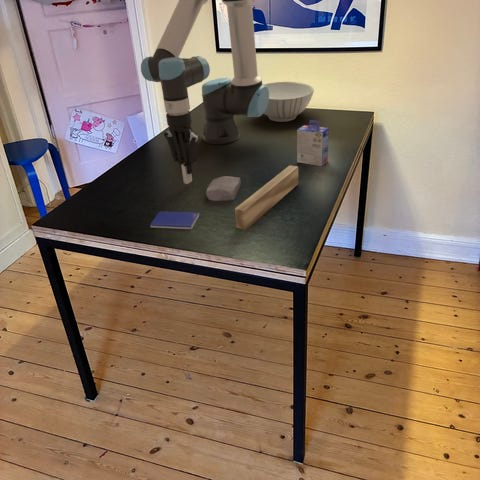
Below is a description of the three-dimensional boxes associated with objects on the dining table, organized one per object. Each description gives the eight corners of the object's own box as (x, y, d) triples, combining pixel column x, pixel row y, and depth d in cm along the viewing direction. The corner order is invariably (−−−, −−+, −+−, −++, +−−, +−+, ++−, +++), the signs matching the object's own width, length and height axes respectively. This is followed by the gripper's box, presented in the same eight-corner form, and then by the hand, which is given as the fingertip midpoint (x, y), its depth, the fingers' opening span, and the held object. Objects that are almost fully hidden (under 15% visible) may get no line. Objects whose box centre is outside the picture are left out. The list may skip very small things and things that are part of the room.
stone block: (206, 206, 150) (236, 201, 147) (202, 192, 148) (232, 187, 145) (215, 190, 160) (243, 185, 157) (211, 177, 158) (239, 172, 155)
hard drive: (199, 212, 141) (159, 210, 144) (191, 225, 135) (150, 224, 137) (199, 216, 142) (160, 215, 145) (191, 230, 135) (150, 229, 138)
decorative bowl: (293, 131, 197) (293, 102, 190) (240, 121, 210) (239, 94, 204) (323, 112, 215) (324, 85, 208) (272, 104, 228) (272, 78, 222)
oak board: (236, 227, 134) (234, 208, 131) (290, 182, 156) (289, 165, 153) (245, 229, 132) (243, 210, 129) (298, 183, 154) (298, 166, 151)
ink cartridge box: (329, 161, 168) (330, 120, 160) (322, 167, 164) (323, 126, 157) (303, 157, 173) (303, 117, 165) (296, 162, 169) (296, 122, 161)
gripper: (153, 113, 147) (165, 183, 159) (186, 118, 140) (196, 190, 153) (169, 106, 152) (180, 174, 165) (202, 110, 146) (210, 181, 158)
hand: (188, 181), depth 159 cm, fingers closed
